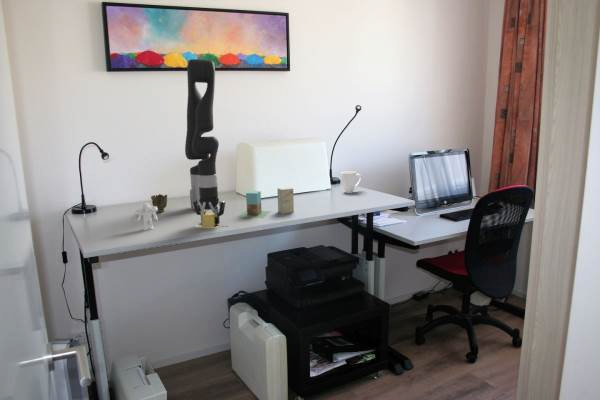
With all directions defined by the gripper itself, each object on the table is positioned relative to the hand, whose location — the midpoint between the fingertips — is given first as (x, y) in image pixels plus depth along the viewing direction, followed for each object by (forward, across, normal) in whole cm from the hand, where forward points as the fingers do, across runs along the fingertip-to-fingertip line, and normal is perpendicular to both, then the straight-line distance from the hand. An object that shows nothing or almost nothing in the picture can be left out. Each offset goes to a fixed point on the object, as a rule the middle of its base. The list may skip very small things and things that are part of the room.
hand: (210, 224), depth 199 cm
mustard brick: (0, 0, 0) cm, 0 cm away
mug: (+1, +48, +78) cm, 92 cm away
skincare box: (+1, +26, +24) cm, 35 cm away
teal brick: (-6, +13, +18) cm, 23 cm away
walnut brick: (-1, +13, +18) cm, 22 cm away
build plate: (0, +13, +18) cm, 22 cm away
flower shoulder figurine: (+1, -24, -9) cm, 26 cm away
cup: (+1, -35, +19) cm, 40 cm away
